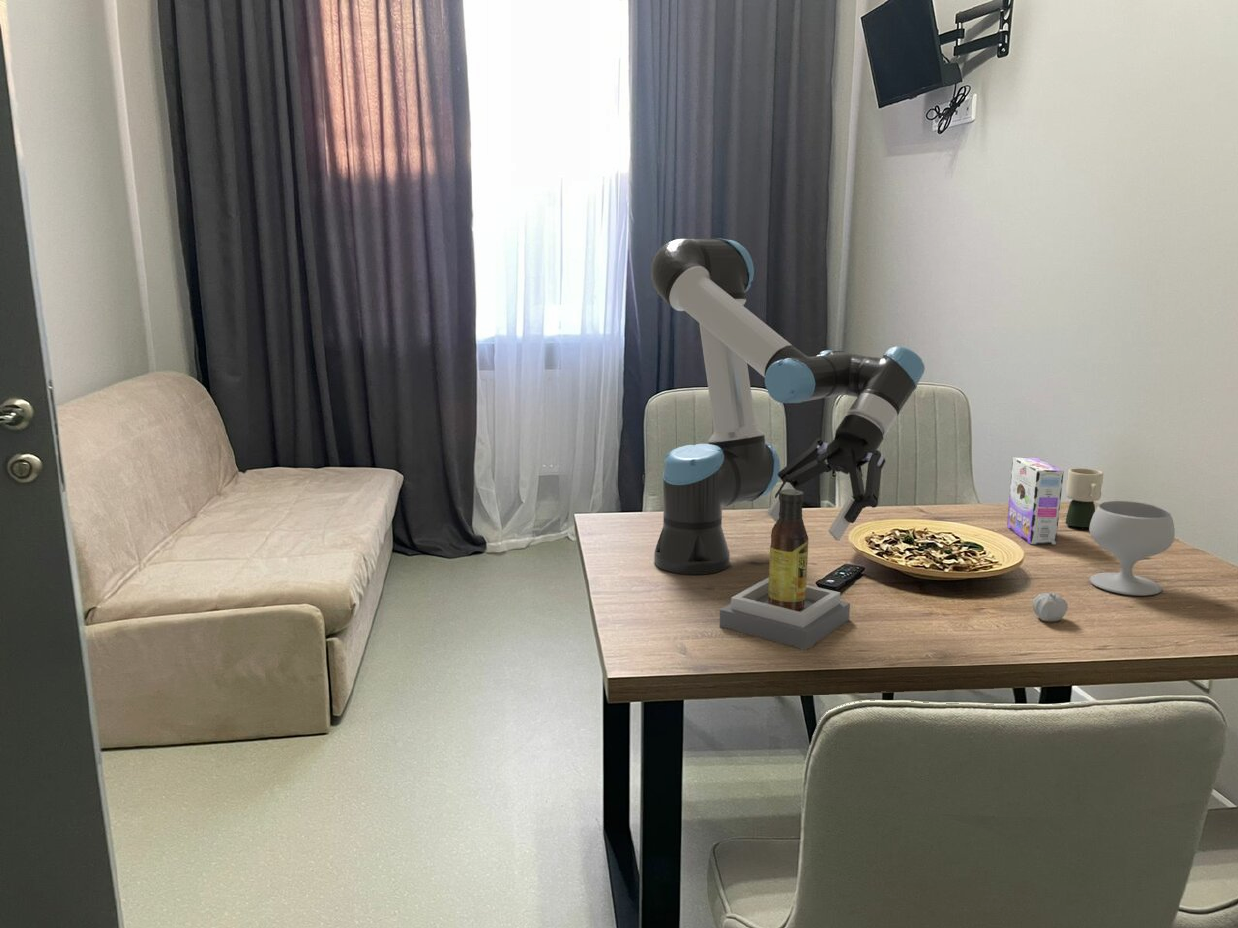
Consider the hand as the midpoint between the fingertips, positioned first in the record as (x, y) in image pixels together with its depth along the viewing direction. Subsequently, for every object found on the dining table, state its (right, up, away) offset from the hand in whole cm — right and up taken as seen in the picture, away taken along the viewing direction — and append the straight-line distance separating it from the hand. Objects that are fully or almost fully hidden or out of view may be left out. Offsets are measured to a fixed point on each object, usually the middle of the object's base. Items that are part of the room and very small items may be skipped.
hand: (801, 526), depth 160 cm
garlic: (+43, -16, +5) cm, 47 cm away
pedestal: (-2, -17, +3) cm, 17 cm away
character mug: (+74, -4, +59) cm, 95 cm away
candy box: (+60, -6, +53) cm, 80 cm away
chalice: (+65, -13, +21) cm, 69 cm away
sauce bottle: (-2, -14, +3) cm, 14 cm away
